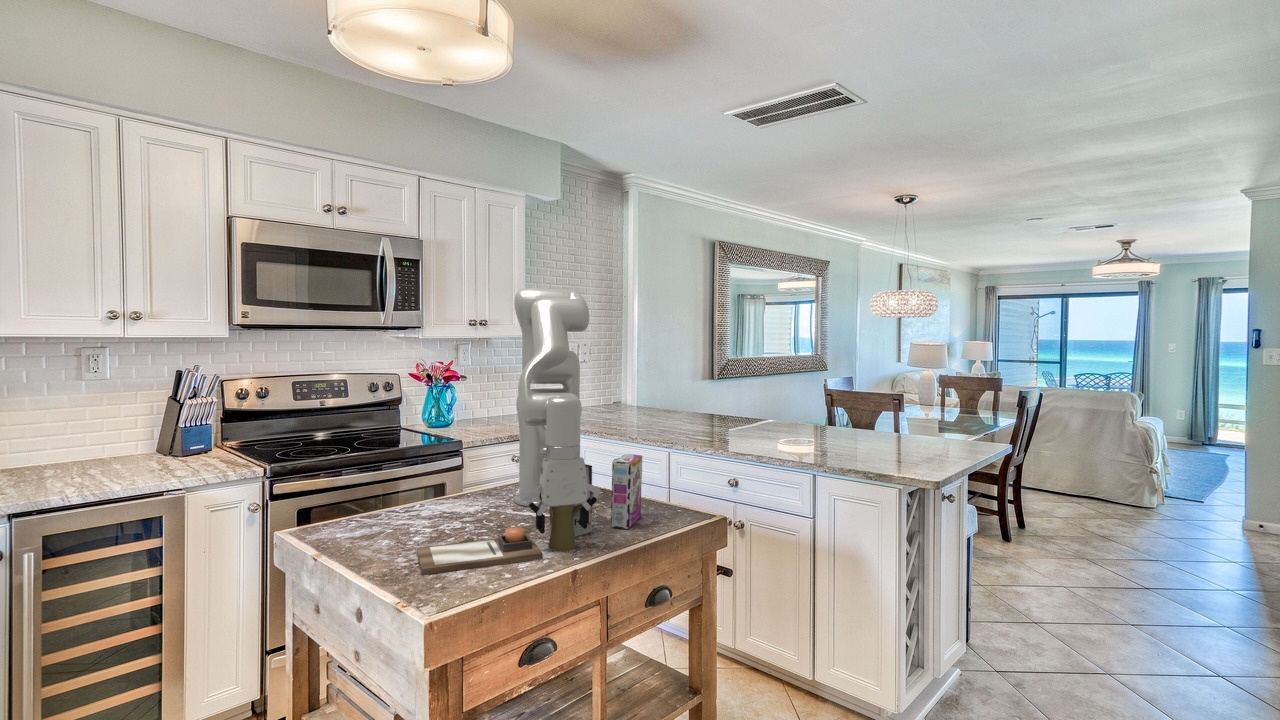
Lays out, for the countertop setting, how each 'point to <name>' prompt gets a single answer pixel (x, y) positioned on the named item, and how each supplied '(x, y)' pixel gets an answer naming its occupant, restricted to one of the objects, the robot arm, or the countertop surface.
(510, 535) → the button
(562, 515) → the olive pawn
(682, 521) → the countertop surface
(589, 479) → the coffee box
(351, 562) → the countertop surface
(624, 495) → the candy bar box
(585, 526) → the robot arm
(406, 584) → the countertop surface
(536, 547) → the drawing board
